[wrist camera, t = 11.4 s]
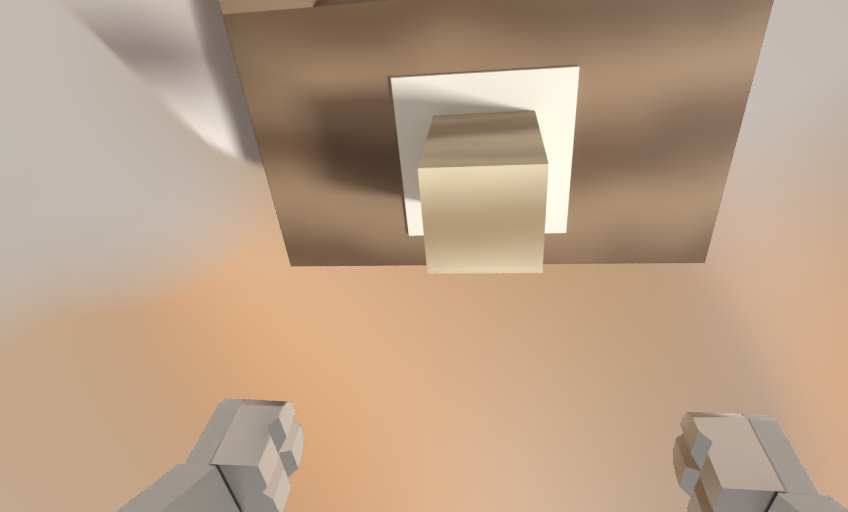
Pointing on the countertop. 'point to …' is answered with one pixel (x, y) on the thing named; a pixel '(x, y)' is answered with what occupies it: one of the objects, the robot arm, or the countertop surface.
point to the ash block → (484, 193)
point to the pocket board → (491, 93)
